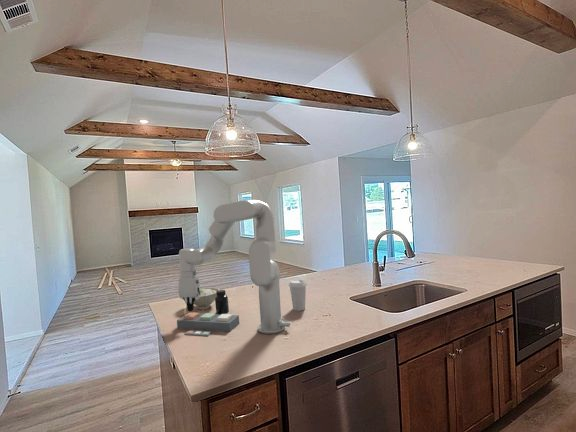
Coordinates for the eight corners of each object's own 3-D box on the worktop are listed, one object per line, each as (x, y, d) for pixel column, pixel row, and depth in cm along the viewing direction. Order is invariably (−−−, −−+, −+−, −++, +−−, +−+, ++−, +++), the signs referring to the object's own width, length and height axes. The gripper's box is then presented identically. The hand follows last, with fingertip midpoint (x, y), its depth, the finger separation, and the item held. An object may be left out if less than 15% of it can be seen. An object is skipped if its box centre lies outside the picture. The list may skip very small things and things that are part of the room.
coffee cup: (306, 311, 166) (305, 283, 166) (288, 311, 168) (287, 283, 168) (309, 305, 176) (307, 278, 175) (292, 305, 178) (290, 279, 177)
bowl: (179, 310, 181) (178, 293, 180) (203, 300, 198) (202, 284, 197) (205, 314, 172) (204, 296, 171) (228, 303, 189) (226, 286, 188)
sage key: (215, 319, 157) (215, 313, 156) (210, 323, 152) (209, 317, 151) (206, 319, 158) (205, 313, 158) (200, 323, 153) (200, 316, 153)
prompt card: (212, 332, 146) (212, 331, 146) (207, 336, 143) (207, 334, 143) (189, 331, 150) (189, 329, 150) (184, 334, 146) (184, 333, 146)
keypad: (239, 323, 156) (238, 315, 156) (230, 331, 146) (229, 323, 146) (189, 320, 164) (188, 313, 163) (177, 328, 154) (176, 320, 154)
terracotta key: (199, 318, 159) (199, 312, 159) (193, 322, 154) (193, 316, 154) (190, 318, 161) (190, 312, 160) (184, 322, 156) (183, 316, 155)
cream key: (232, 320, 154) (231, 314, 154) (227, 324, 149) (226, 318, 149) (222, 319, 155) (222, 313, 155) (217, 324, 150) (216, 317, 150)
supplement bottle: (223, 309, 178) (222, 288, 177) (231, 312, 173) (230, 290, 173) (213, 313, 172) (211, 291, 172) (221, 316, 168) (219, 293, 167)
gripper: (205, 272, 158) (207, 308, 159) (179, 271, 162) (181, 307, 163) (197, 276, 151) (199, 314, 152) (170, 275, 155) (172, 312, 156)
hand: (190, 310), depth 157 cm, fingers closed
